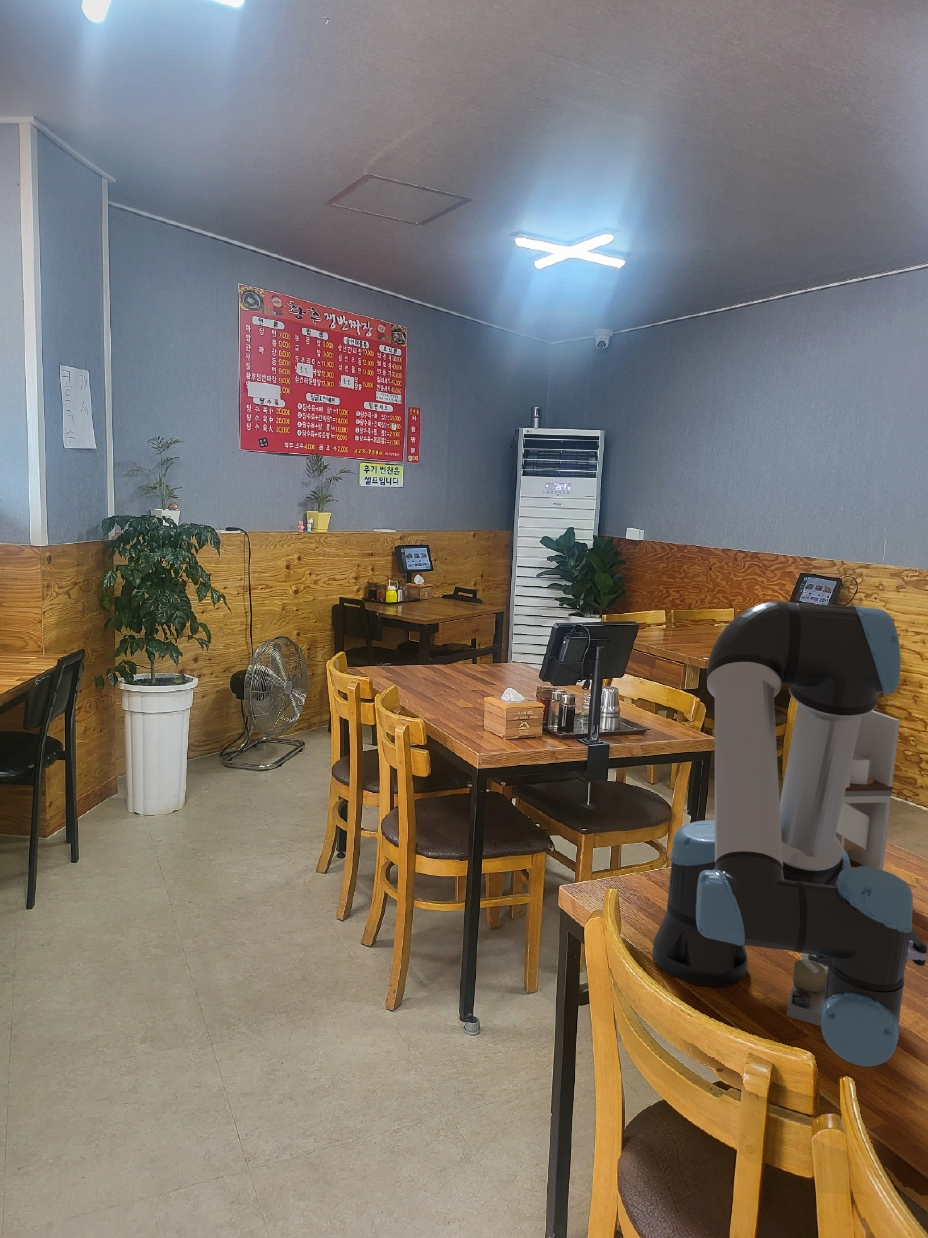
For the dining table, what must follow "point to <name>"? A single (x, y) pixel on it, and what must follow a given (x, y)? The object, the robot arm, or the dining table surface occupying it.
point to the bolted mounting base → (808, 997)
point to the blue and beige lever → (809, 975)
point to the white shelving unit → (869, 791)
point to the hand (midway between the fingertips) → (877, 892)
